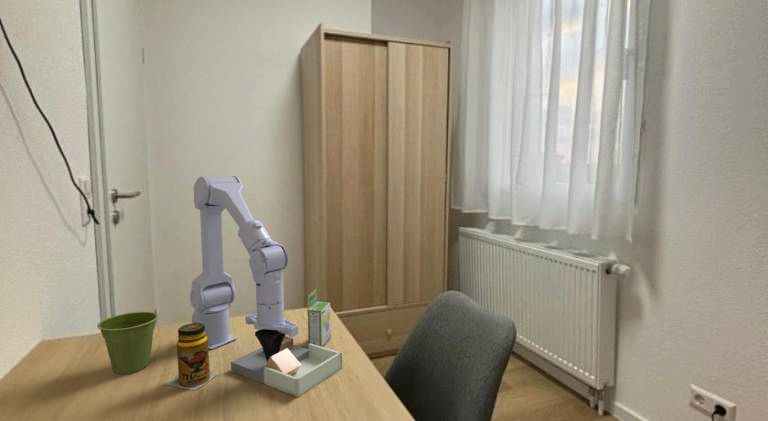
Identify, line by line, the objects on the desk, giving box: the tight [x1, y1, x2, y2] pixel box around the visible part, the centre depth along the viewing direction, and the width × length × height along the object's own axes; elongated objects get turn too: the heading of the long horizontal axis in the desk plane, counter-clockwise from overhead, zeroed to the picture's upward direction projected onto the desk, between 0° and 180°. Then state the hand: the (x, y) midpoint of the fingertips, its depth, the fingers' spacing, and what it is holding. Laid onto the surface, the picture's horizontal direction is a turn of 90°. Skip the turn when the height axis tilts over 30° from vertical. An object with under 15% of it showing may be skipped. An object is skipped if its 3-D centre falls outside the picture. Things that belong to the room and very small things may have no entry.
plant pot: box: [96, 311, 159, 375], centre depth 95 cm, size 12×12×11 cm
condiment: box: [163, 322, 220, 391], centre depth 89 cm, size 7×8×12 cm
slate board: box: [230, 344, 309, 384], centre depth 96 cm, size 11×14×2 cm
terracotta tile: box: [266, 348, 301, 375], centre depth 90 cm, size 5×5×2 cm
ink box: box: [306, 288, 332, 348], centre depth 107 cm, size 7×4×13 cm, turn 168°
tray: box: [263, 343, 343, 398], centre depth 90 cm, size 10×14×4 cm
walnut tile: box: [263, 335, 294, 352], centre depth 99 cm, size 5×5×2 cm
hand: (272, 360), depth 91 cm, fingers closed
